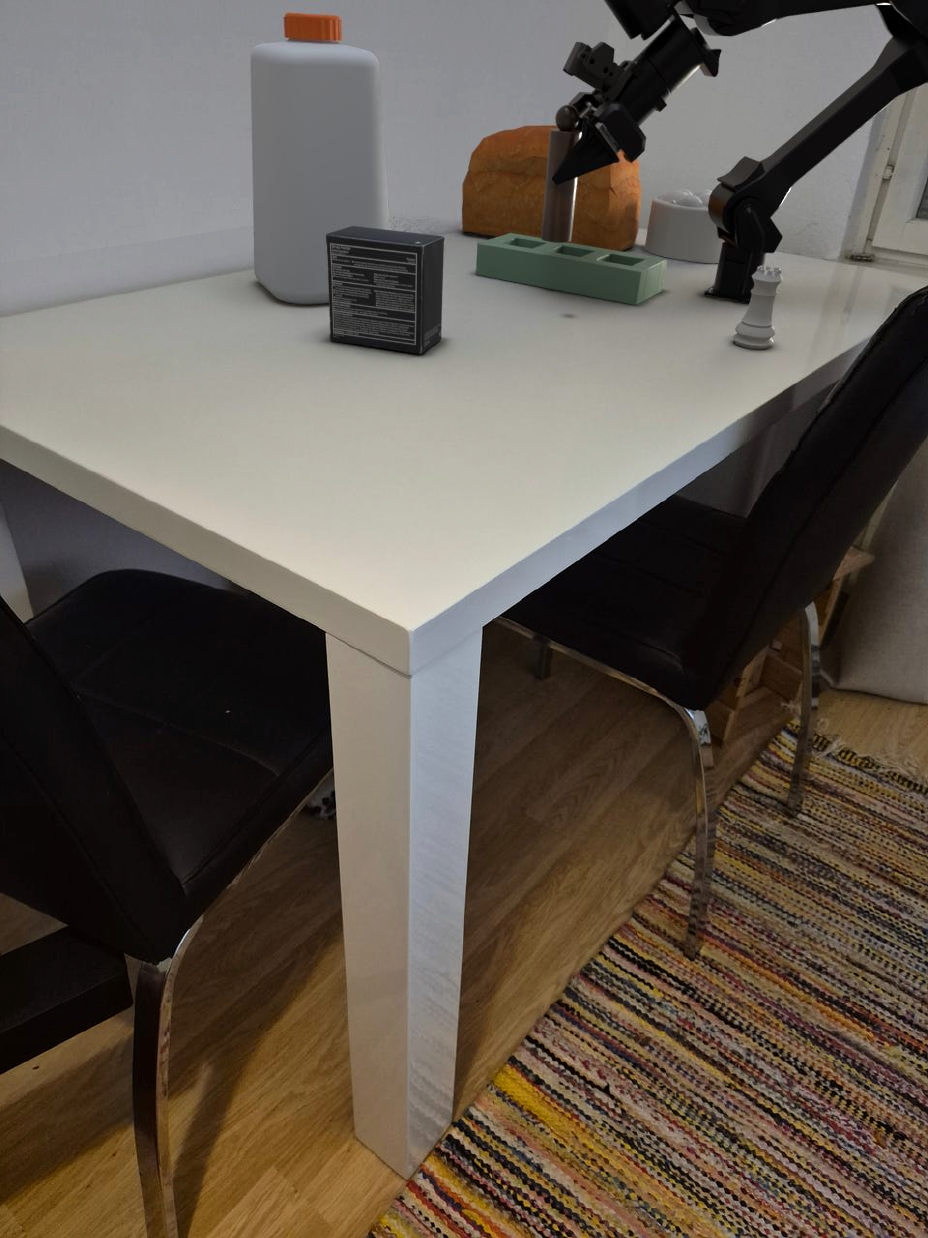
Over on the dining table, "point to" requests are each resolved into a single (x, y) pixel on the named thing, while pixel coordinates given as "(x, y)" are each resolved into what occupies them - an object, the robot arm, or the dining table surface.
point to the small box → (385, 288)
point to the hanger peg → (564, 195)
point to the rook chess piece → (759, 311)
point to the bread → (515, 189)
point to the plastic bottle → (313, 153)
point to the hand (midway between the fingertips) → (550, 179)
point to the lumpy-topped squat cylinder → (683, 227)
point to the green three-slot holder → (572, 268)
